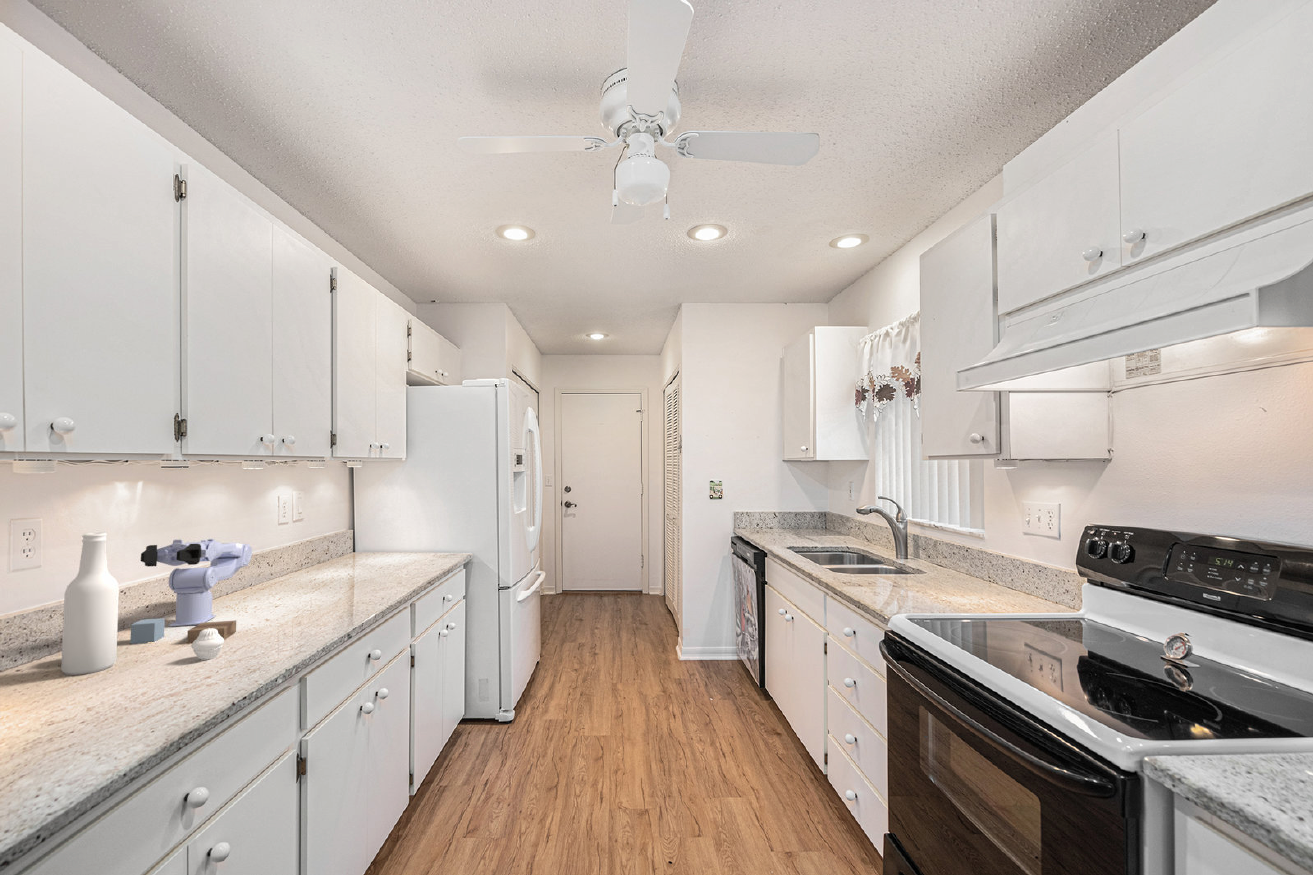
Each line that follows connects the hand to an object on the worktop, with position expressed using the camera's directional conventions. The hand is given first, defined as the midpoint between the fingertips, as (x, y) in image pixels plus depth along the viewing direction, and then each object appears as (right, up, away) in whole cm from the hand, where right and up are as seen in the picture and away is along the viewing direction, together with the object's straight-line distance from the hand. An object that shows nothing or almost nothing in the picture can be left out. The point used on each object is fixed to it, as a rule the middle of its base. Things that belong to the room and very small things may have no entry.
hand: (160, 556), depth 152 cm
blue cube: (-3, -22, 0) cm, 22 cm away
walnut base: (+12, -22, +3) cm, 25 cm away
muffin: (+23, -21, -14) cm, 34 cm away
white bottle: (+2, -21, -21) cm, 30 cm away
